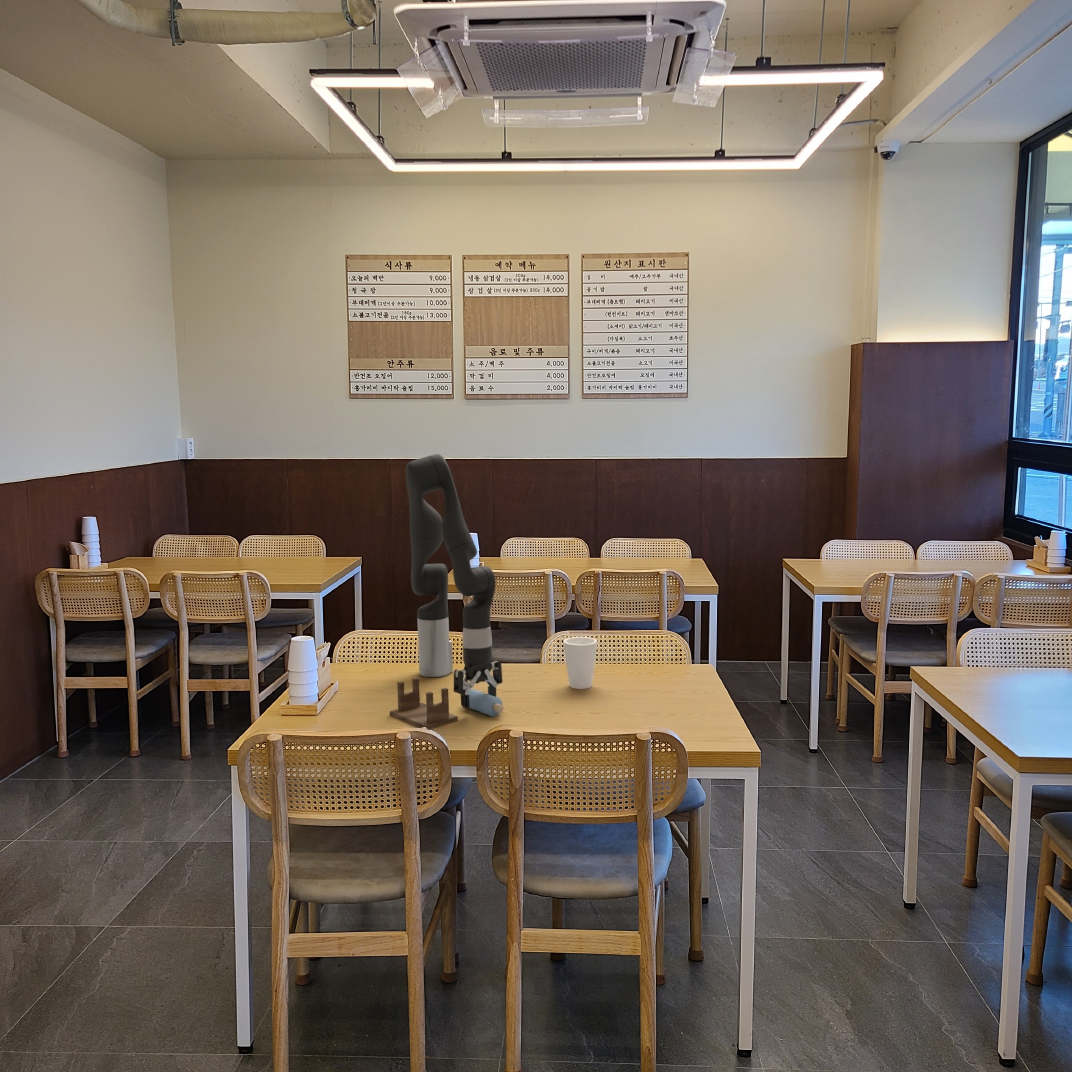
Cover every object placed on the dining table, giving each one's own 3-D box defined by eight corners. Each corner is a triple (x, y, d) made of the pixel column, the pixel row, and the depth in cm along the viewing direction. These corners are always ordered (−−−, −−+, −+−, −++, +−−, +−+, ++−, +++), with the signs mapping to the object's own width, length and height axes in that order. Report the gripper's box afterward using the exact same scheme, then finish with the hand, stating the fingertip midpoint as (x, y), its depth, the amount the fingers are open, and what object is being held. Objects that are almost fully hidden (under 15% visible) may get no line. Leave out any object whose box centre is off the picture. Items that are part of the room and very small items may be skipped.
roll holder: (389, 714, 242) (388, 683, 241) (421, 706, 249) (420, 675, 248) (425, 729, 231) (424, 696, 229) (457, 720, 237) (456, 687, 236)
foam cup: (602, 683, 267) (601, 638, 265) (590, 692, 259) (589, 646, 257) (571, 679, 271) (571, 635, 269) (559, 688, 263) (558, 643, 261)
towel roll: (456, 704, 247) (461, 685, 248) (470, 707, 250) (475, 689, 251) (490, 716, 236) (496, 697, 237) (504, 720, 240) (510, 701, 240)
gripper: (489, 636, 248) (491, 695, 250) (446, 646, 239) (448, 707, 241) (507, 641, 242) (509, 701, 245) (464, 651, 233) (465, 713, 235)
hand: (478, 704), depth 243 cm, fingers open, 8 cm apart
